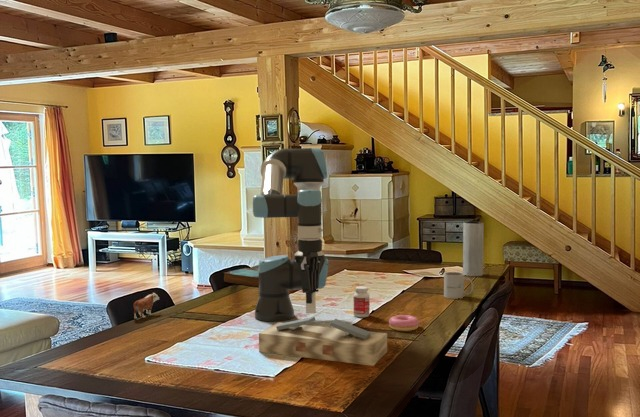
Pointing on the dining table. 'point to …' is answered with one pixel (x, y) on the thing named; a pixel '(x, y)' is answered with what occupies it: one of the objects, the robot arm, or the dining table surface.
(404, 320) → the doughnut
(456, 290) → the mug
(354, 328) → the rocker
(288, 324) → the rocker
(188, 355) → the dining table surface
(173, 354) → the dining table surface
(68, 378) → the dining table surface
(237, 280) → the book
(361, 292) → the pill bottle
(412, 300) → the dining table surface
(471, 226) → the vase
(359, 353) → the console
